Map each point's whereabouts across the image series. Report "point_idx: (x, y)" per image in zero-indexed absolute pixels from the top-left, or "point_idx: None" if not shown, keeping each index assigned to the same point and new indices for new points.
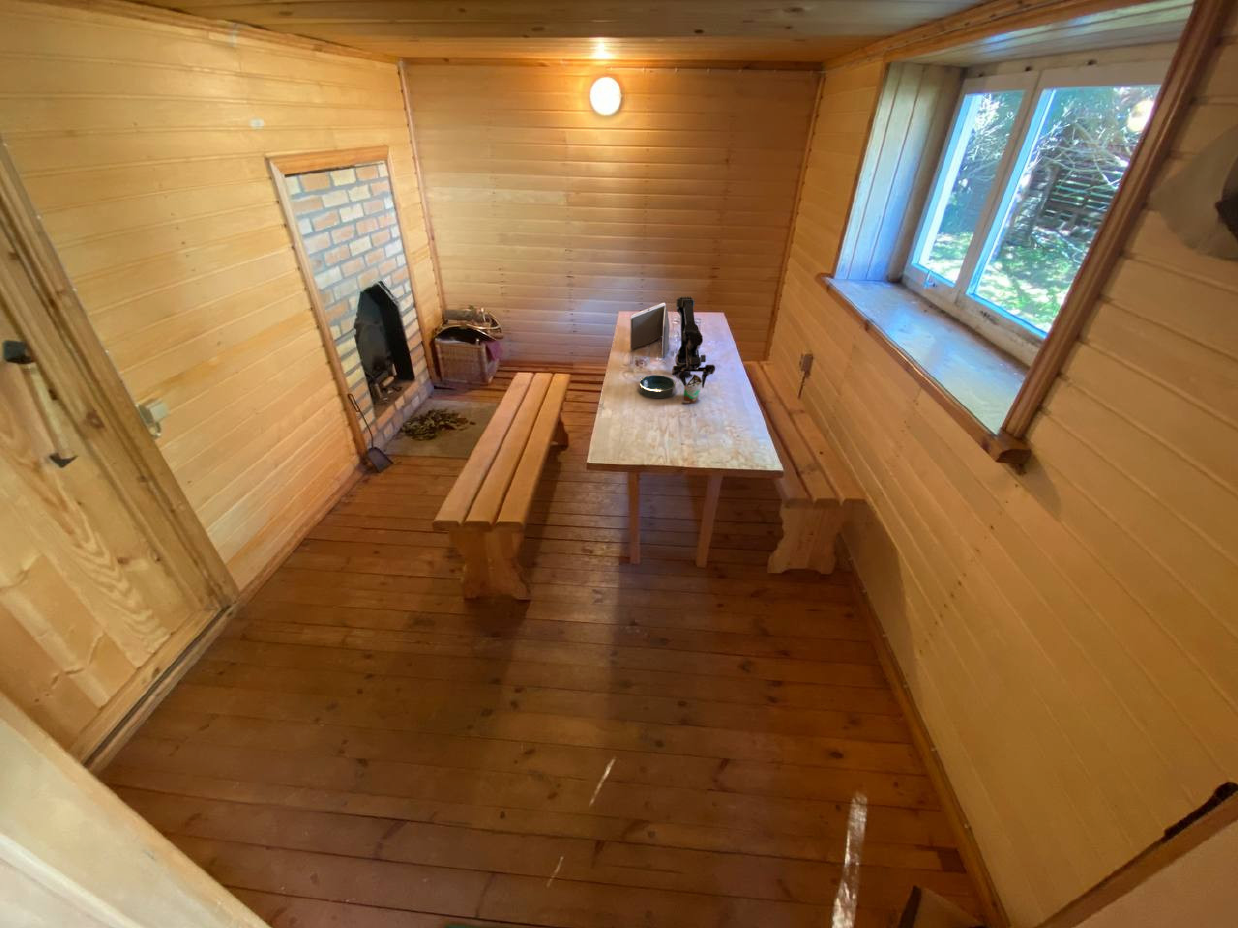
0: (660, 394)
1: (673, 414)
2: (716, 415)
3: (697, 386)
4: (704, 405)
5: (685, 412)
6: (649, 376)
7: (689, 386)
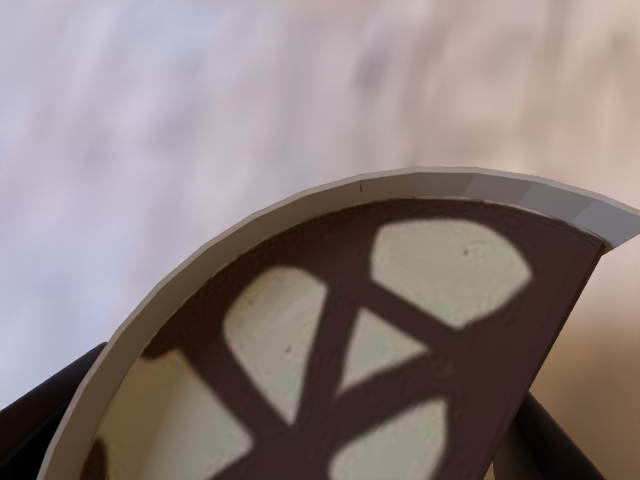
0: None
1: (608, 101)
2: (164, 49)
3: (264, 222)
4: None
5: (465, 130)
6: None
7: (502, 179)
